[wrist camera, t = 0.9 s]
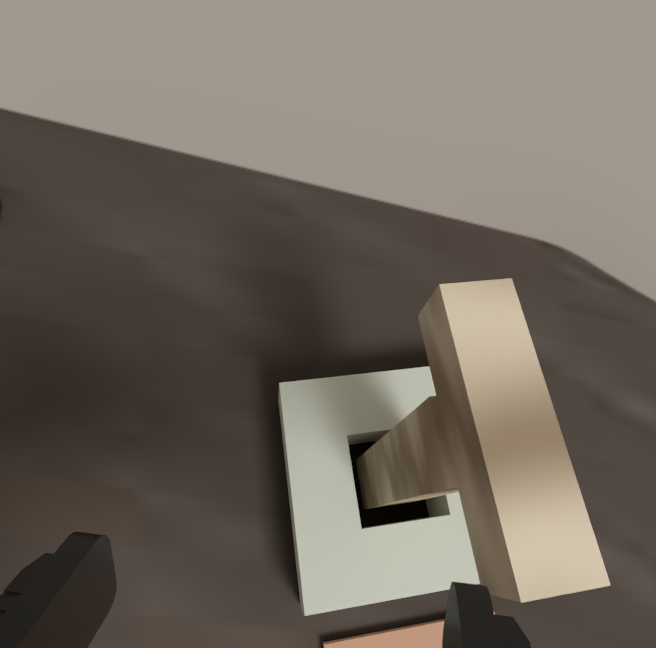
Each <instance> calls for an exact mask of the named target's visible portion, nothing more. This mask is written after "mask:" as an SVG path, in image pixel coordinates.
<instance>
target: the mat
mask: <svg viewBox="0 0 656 648" xmlns="http://www.w3.org/2000/svg"><path fill="white" fill-rule="evenodd" d="M493 612H494V611H493ZM494 615H495V612H494ZM444 621H445V619H441V620H436V621H431V622H425V623H420V624H415V625H410V626H405V627H400V628H394V629H389V630H384V631H379V632H374V633H369V634H363V635H358V636H353V637H348V638H343V639H338V640H332V641H327V642H323V648H442V638H443V627H444Z"/></svg>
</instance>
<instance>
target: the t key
mask: <svg viewBox="0 0 656 648" xmlns="http://www.w3.org/2000/svg"><path fill="white" fill-rule="evenodd" d="M418 319H419V323H420V328H421V332H422V336H423V341H424V345H425V349H426V354H427V358H428V362H429V366H430V371H431V375H432V379H433V384H434V388H435V392H436V396H430V397H428V398H427V399H426V400H425V401H424V402H422V403H421V404H420V405H419V406H418V407H417V408H416V409H414V410H413V411H412V412H411V413H410V414H409V415H407V416H406V417H405V418H404V419H403V420H402V421H400V422H399V423H398V424H397V425H396V426H395V427H394V428H392V429H391V430H390V431H389V432H388V433H387V434H385V435H384V436H383V437H382V438H381V439H380V440H378V441H377V442H376V443H375V444H374V445H373V446H372V447H370V448H369V449H368V450H367V451H366V452H365V453H363V454H362V455H361V456H360V457H359V458H358V459H357V460H356V465H357V471H358V477H359V483H360V489H361V496H362V502H363V508H364V510H365V509H371V508H378V507H384V506H391V505H397V504H404V503H410V502H415V501H419V500H424V499H428V498H433V497H438V496H442V495H447V494H451V493H456V492H459V495H460V499H461V504H462V508H463V512H464V517H465V521H466V525H467V529H468V534H469V538H470V542H471V547H472V551H473V555H474V559H475V564H476V568H477V572H478V577H479V581H480V585H484V586H487V588H488V590H489V594H492V595H495V596H499V597H503V598H506V599H510V600H513V601H517V602H521V603H522V602H528V601H533V600H538V599H543V598H548V597H553V596H559V595H564V594H569V593H574V592H579V591H584V590H590V589H595V588H600V587H605V586H610V582H609V579H608V575H607V572H606V569H605V566H604V563H603V560H602V557H601V554H600V551H599V548H598V544H597V541H596V538H595V535H594V532H593V529H592V526H591V523H590V520H589V516H588V513H587V510H586V507H585V504H584V501H583V498H582V495H581V492H580V489H579V485H578V482H577V479H576V476H575V473H574V470H573V467H572V464H571V461H570V458H569V454H568V451H567V448H566V445H565V442H564V439H563V436H562V433H561V430H560V427H559V423H558V420H557V417H556V414H555V411H554V408H553V405H552V402H551V399H550V395H549V392H548V389H547V386H546V383H545V380H544V377H543V374H542V371H541V368H540V364H539V361H538V358H537V355H536V352H535V349H534V346H533V343H532V340H531V337H530V333H529V330H528V327H527V324H526V321H525V318H524V315H523V312H522V309H521V306H520V302H519V299H518V296H517V293H516V290H515V287H514V284H513V281H512V278H510V279H498V280H486V281H474V282H462V283H450V284H439V285H438V287H437V288H436V290H435V291H434V293H433V294H432V296H431V297H430V299H429V300H428V302H427V303H426V305H425V306H424V308H423V309H422V311H421V312H420V314H419V315H418Z"/></svg>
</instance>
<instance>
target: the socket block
mask: <svg viewBox="0 0 656 648" xmlns="http://www.w3.org/2000/svg"><path fill="white" fill-rule="evenodd" d="M430 396H436V392H435V388H434V384H433V379H432V375H431V371H430V366H428V367H419V368H410V369H400V370H391V371H382V372H373V373H364V374H355V375H346V376H337V377H328V378H319V379H309V380H300V381H291V382H282V383H279V395H278V402H279V411H280V420H281V430H282V439H283V448H284V457H285V467H286V476H287V485H288V494H289V504H290V513H291V522H292V532H293V541H294V550H295V559H296V569H297V578H298V587H299V596H300V605H301V608H302V610H303V613H304V615H305V616H307V615H312V614H318V613H323V612H329V611H334V610H339V609H345V608H350V607H356V606H361V605H367V604H372V603H377V602H383V601H388V600H394V599H399V598H405V597H410V596H415V595H421V594H426V593H432V592H437V591H443V590H448V589H450V586H451V583H452V581H453V582H461V583H468V584H480V581H479V577H478V572H477V568H476V564H475V559H474V555H473V551H472V547H471V542H470V538H469V534H468V529H467V525H466V521H465V517H464V512H463V508H462V504H461V499H460V495H459V492H456V493H451V494H447V495H442V496H438V497H433V498H428V499H425V500H426V505H427V510H428V514H429V517H426V518H420V519H413V520H407V521H401V522H395V523H388V524H382V525H376V526H369V527H363V528H361V521H360V515H359V509H358V502H357V496H356V490H355V483H354V477H353V471H352V464H351V458H350V452H349V445H352V444H360V443H367V442H375V441H378V440H380V439H381V438H382V437H383V436H384V435H385V434H387V433H388V432H389V431H390V430H391V429H392V428H394V427H395V426H396V425H397V424H398V423H399V422H400V421H402V420H403V419H404V418H405V417H406V416H407V415H409V414H410V413H411V412H412V411H413V410H414V409H416V408H417V407H418V406H419V405H420V404H421V403H422V402H424V401H425V400H426V399H427V398H428V397H430Z"/></svg>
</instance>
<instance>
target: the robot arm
mask: <svg viewBox="0 0 656 648" xmlns="http://www.w3.org/2000/svg"><path fill="white" fill-rule="evenodd" d="M0 211H1V204H0ZM115 593H116V576H115V570H114V563H113V557H112V551H111V544H110V540H109V538H108V537H107V536H106V535H98V534H90V533H82V532H74V533H72V534H71V535H69V536H68V537H67V539H66V540H65V541H64V542H63V543H62V545H61V546H60V547H59V548H58V550H57V551H56V552H55V553H54V554H50V553H45V554H44V555H42V556H41V557H39V558H38V559H37V560H35V561H34V562H32V563H31V564H30V565H28V566H27V567H25V568H24V569H22V570H21V572H20V573H19V574H18V575H17V576H16V577H15V578H14V580H13V581H12V582H11V583H10V584H9V585H8V587H7V588H6V589H5V590H4V593H3V595H0V648H87V647H88V646H89V644H90V642H91V641H92V639H93V637H94V636H95V634H96V632H97V631H98V629H99V627H100V626H101V624H102V622H103V621H104V619H105V618H106V616H107V614H108V612H109V611H110V608H111V606H112V604H113V601H114V597H115ZM442 648H531V646H530V642H529V640H528V639H527V637H526V636H525V634H524V633H523V631H522V630H521V628H520V627H519V625H518V624H517V622H516V621H515V619H514V618H513V617H508V616H501V615H494V612H493V608H492V603H491V598H490V594H489V590H488V588H487V586H484V585H476V584H468V583H461V582H453V581H452V583H451V586H450V591H449V597H448V603H447V609H446V615H445V621H444V627H443V638H442Z"/></svg>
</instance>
